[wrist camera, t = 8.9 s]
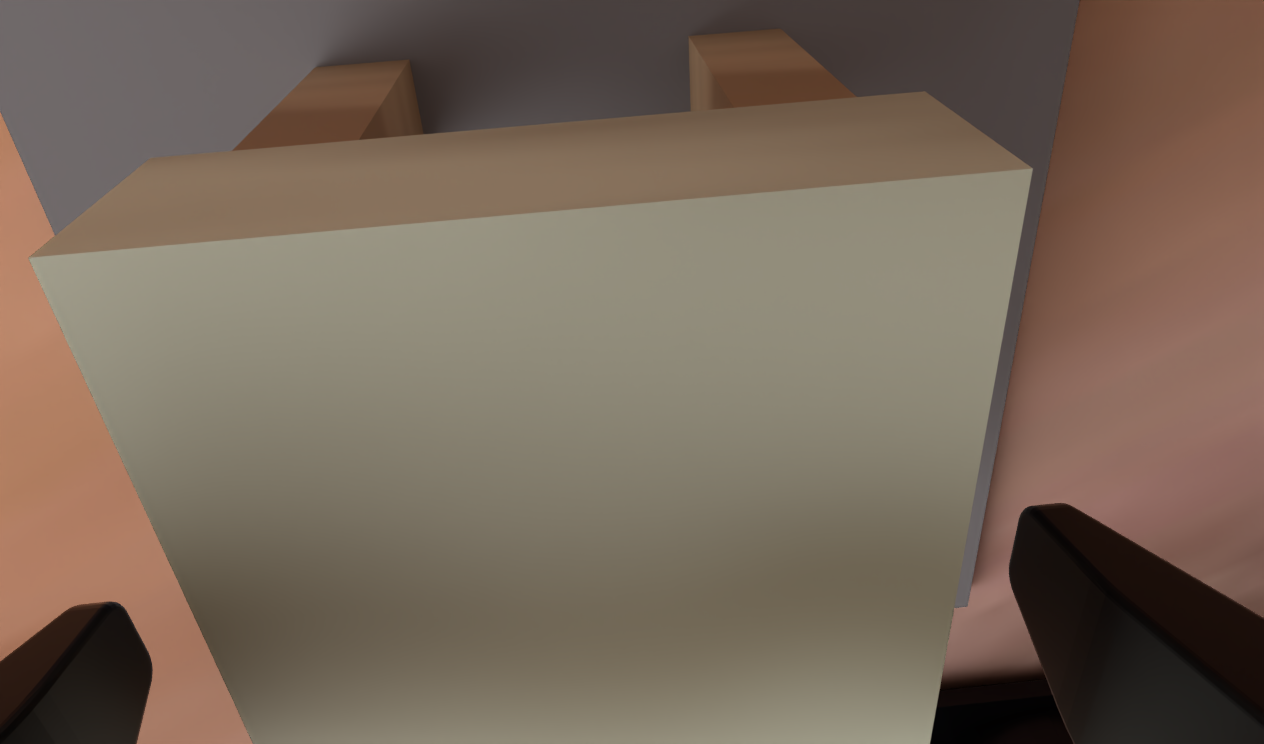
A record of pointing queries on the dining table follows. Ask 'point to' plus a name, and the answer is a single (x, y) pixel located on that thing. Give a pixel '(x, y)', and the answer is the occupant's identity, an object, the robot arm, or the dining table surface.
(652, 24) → the felt pad
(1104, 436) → the dining table surface
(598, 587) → the stool
